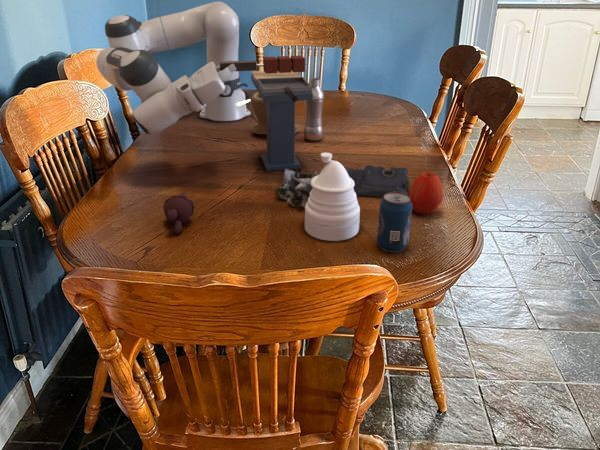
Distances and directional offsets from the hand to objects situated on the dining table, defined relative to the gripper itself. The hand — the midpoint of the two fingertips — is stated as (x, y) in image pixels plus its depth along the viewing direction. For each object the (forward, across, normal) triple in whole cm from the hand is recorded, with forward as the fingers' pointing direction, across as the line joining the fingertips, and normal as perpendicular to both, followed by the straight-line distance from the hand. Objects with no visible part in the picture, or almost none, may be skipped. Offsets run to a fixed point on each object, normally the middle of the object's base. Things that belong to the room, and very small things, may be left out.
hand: (234, 64), depth 148 cm
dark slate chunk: (+14, +15, -44) cm, 48 cm away
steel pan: (+8, +5, -12) cm, 15 cm away
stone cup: (-2, -31, -35) cm, 47 cm away
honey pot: (0, +37, -36) cm, 51 cm away
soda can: (+9, +48, -41) cm, 64 cm away
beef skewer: (+6, 0, -6) cm, 8 cm away
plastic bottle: (+9, -24, -41) cm, 48 cm away
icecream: (-30, +26, -18) cm, 44 cm away
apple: (+22, +33, -48) cm, 62 cm away
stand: (-4, -5, -33) cm, 34 cm away
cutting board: (+8, -11, -12) cm, 19 cm away
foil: (-4, +20, -34) cm, 39 cm away
